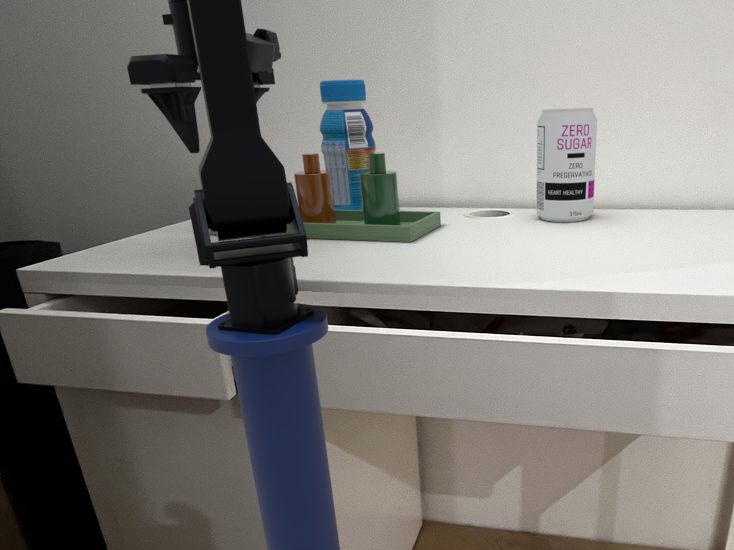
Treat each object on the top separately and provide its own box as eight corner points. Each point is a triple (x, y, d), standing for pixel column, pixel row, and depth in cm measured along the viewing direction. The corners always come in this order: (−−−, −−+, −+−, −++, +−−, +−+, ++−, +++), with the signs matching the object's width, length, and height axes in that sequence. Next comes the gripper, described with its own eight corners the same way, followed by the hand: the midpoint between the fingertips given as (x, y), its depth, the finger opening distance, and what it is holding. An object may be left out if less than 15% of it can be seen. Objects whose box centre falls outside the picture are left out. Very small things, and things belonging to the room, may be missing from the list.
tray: (410, 242, 80) (409, 226, 79) (209, 234, 89) (206, 220, 88) (440, 225, 89) (440, 211, 89) (256, 220, 99) (254, 207, 98)
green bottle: (391, 232, 83) (385, 154, 79) (358, 231, 85) (350, 155, 81) (406, 225, 88) (401, 151, 84) (374, 224, 89) (367, 151, 85)
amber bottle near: (325, 230, 86) (316, 155, 83) (294, 229, 88) (284, 155, 84) (343, 223, 91) (335, 152, 87) (313, 222, 92) (304, 152, 88)
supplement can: (562, 211, 97) (564, 108, 92) (604, 217, 91) (609, 107, 86) (525, 218, 92) (525, 110, 87) (566, 225, 86) (570, 109, 81)
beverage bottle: (321, 218, 98) (304, 80, 90) (338, 209, 106) (324, 81, 98) (373, 218, 97) (361, 78, 89) (386, 209, 104) (376, 79, 97)
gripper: (197, -14, 59) (226, 156, 65) (302, 9, 76) (318, 143, 82) (107, -4, 63) (142, 157, 69) (226, 16, 79) (247, 144, 85)
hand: (221, 149), depth 76 cm, fingers open, 9 cm apart
